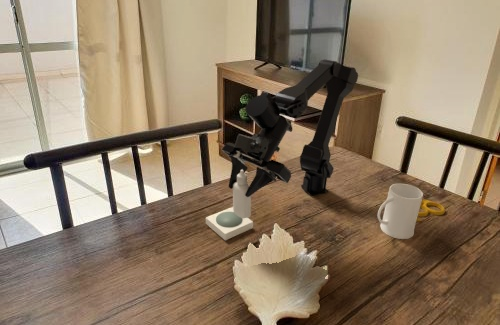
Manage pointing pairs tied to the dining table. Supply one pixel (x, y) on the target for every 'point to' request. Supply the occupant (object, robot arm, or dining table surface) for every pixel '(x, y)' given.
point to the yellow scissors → (424, 206)
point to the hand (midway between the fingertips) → (238, 192)
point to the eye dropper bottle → (241, 196)
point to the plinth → (228, 223)
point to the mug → (400, 211)
